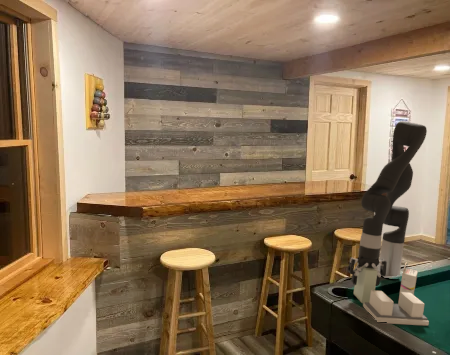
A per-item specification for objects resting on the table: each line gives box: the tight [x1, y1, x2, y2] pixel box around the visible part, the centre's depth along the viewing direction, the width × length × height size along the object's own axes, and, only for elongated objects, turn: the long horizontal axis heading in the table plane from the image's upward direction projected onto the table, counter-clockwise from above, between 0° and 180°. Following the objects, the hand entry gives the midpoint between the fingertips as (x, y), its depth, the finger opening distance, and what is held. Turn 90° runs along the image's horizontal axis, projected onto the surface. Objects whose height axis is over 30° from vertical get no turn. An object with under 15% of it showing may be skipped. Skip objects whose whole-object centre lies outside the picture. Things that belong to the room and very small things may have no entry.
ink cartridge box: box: [398, 261, 418, 297], centre depth 147 cm, size 9×5×15 cm, turn 149°
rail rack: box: [362, 289, 430, 326], centre depth 133 cm, size 12×18×7 cm, turn 92°
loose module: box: [353, 262, 377, 304], centre depth 145 cm, size 8×4×13 cm, turn 2°
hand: (364, 284), depth 145 cm, fingers open, 8 cm apart
